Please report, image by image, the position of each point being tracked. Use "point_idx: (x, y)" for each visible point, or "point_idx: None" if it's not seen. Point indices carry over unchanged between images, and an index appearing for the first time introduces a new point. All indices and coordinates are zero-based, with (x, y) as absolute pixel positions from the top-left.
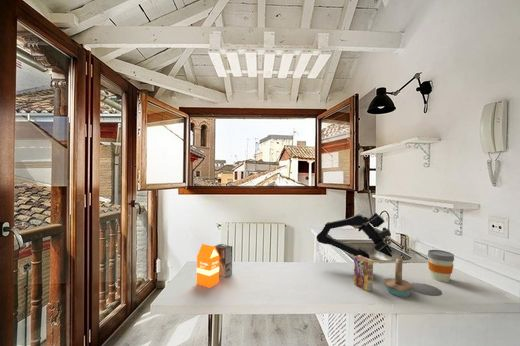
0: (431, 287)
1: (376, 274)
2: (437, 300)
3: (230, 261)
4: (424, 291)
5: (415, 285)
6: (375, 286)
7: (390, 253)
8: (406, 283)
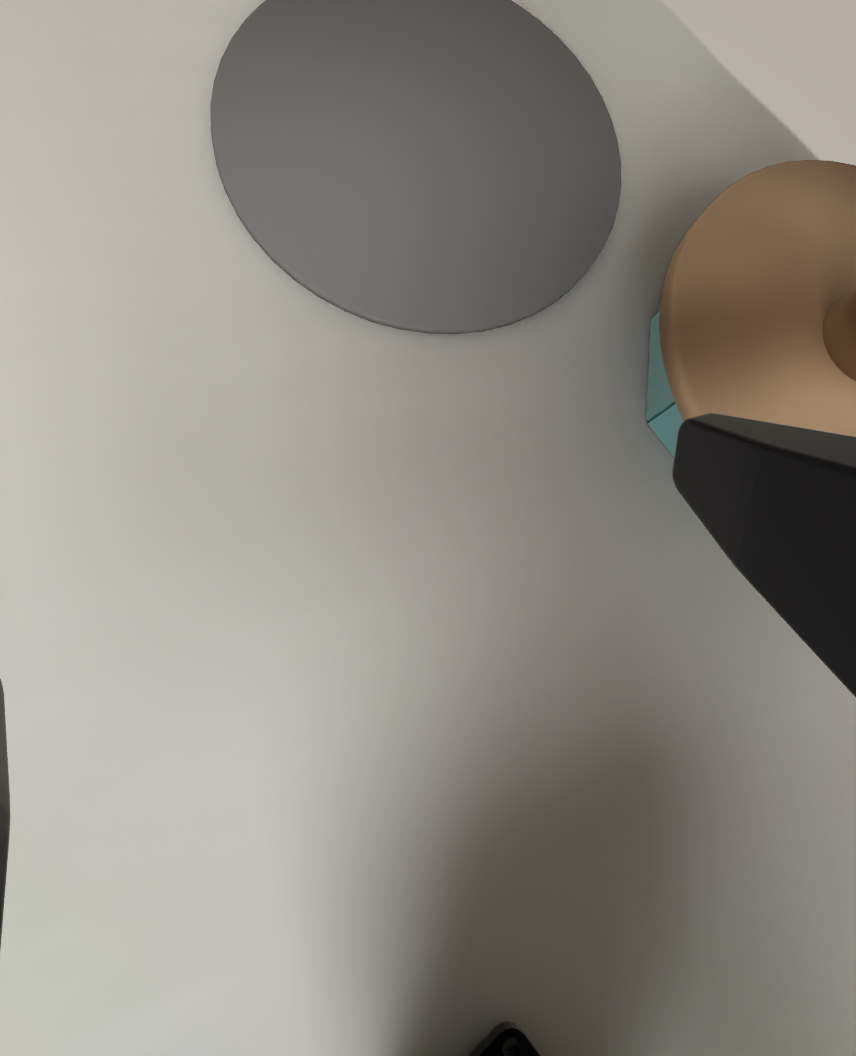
0: (292, 65)
1: (334, 902)
2: (627, 23)
3: None
4: (514, 133)
5: (386, 244)
6: (835, 687)
7: (832, 437)
8: (771, 247)
